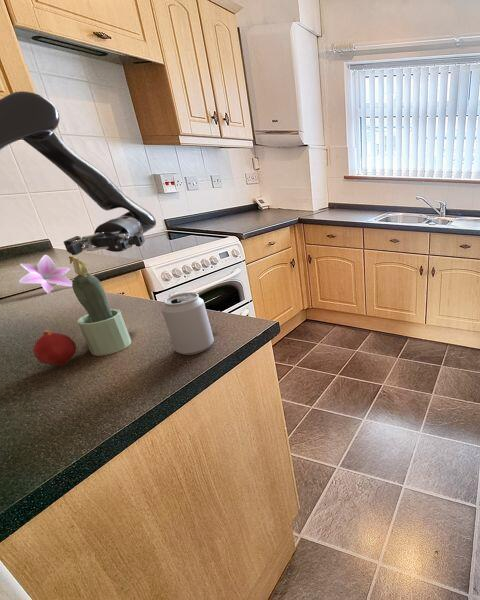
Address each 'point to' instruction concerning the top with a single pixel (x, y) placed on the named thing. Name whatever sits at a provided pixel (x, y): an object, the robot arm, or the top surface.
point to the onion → (54, 348)
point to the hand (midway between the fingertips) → (96, 248)
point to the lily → (46, 274)
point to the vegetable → (90, 292)
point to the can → (187, 323)
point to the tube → (105, 334)
